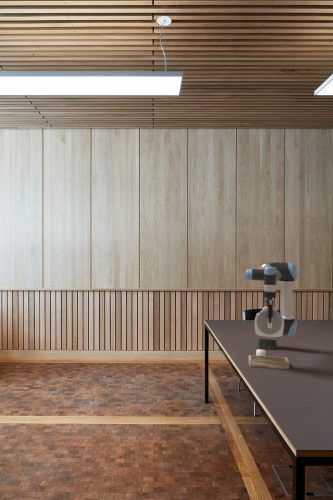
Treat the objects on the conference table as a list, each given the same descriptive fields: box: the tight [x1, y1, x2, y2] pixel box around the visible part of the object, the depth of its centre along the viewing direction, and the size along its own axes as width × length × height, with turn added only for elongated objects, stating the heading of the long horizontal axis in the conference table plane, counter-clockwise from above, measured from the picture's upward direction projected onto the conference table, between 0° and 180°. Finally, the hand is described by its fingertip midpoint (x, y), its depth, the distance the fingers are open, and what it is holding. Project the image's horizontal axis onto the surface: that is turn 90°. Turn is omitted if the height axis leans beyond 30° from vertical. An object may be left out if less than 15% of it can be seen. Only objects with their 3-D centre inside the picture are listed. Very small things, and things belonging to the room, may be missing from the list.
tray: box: [248, 354, 290, 370], centre depth 272 cm, size 13×24×4 cm, turn 82°
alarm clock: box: [254, 305, 284, 341], centre depth 272 cm, size 18×8×20 cm, turn 75°
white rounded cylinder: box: [255, 348, 267, 356], centre depth 282 cm, size 6×6×7 cm
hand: (269, 326), depth 272 cm, fingers closed on alarm clock, 9 cm apart
